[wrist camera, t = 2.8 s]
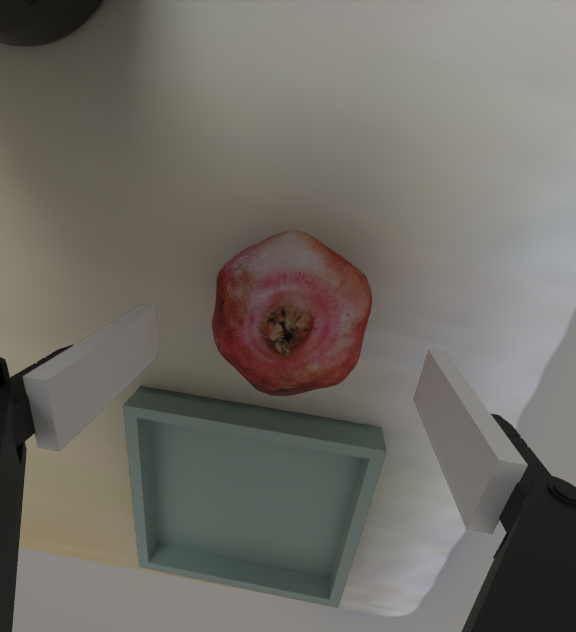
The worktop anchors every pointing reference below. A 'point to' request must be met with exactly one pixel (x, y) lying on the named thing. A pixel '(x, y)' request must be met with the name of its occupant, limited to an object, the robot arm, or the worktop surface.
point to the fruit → (291, 314)
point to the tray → (249, 493)
